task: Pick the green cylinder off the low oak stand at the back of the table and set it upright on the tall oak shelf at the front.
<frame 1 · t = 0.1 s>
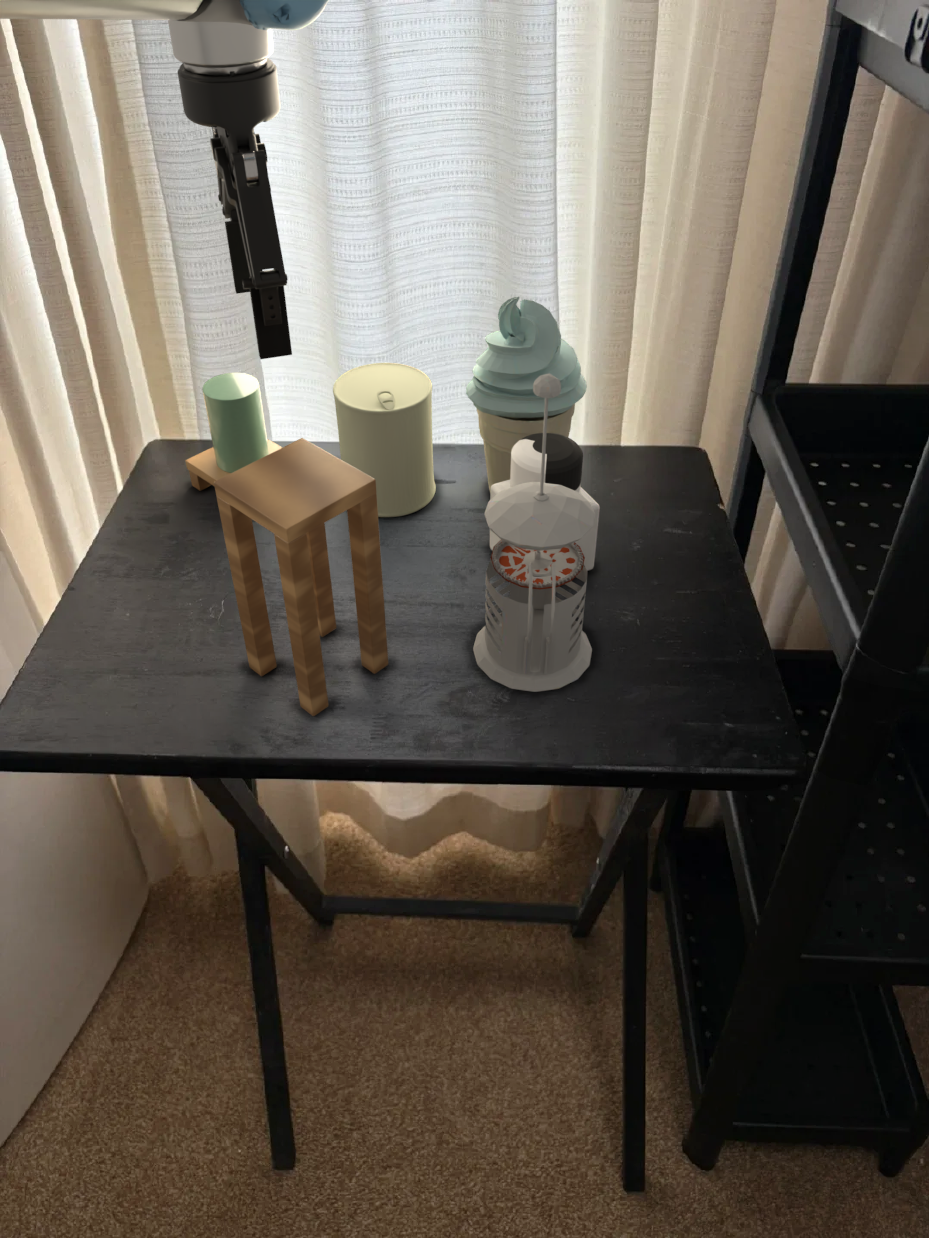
hand: (262, 321, 94), 17 cm above the table, tool pointing down, fingers open, 13 cm apart
front shelf: (319, 665, 85), on the table
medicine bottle: (540, 560, 95), on the table
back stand: (247, 484, 104), on the table
ice cream cone: (521, 489, 104), on the table
french press: (532, 658, 86), on the table
can: (389, 492, 103), on the table
green cylinder: (243, 459, 102), point 3 cm above the table, touching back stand
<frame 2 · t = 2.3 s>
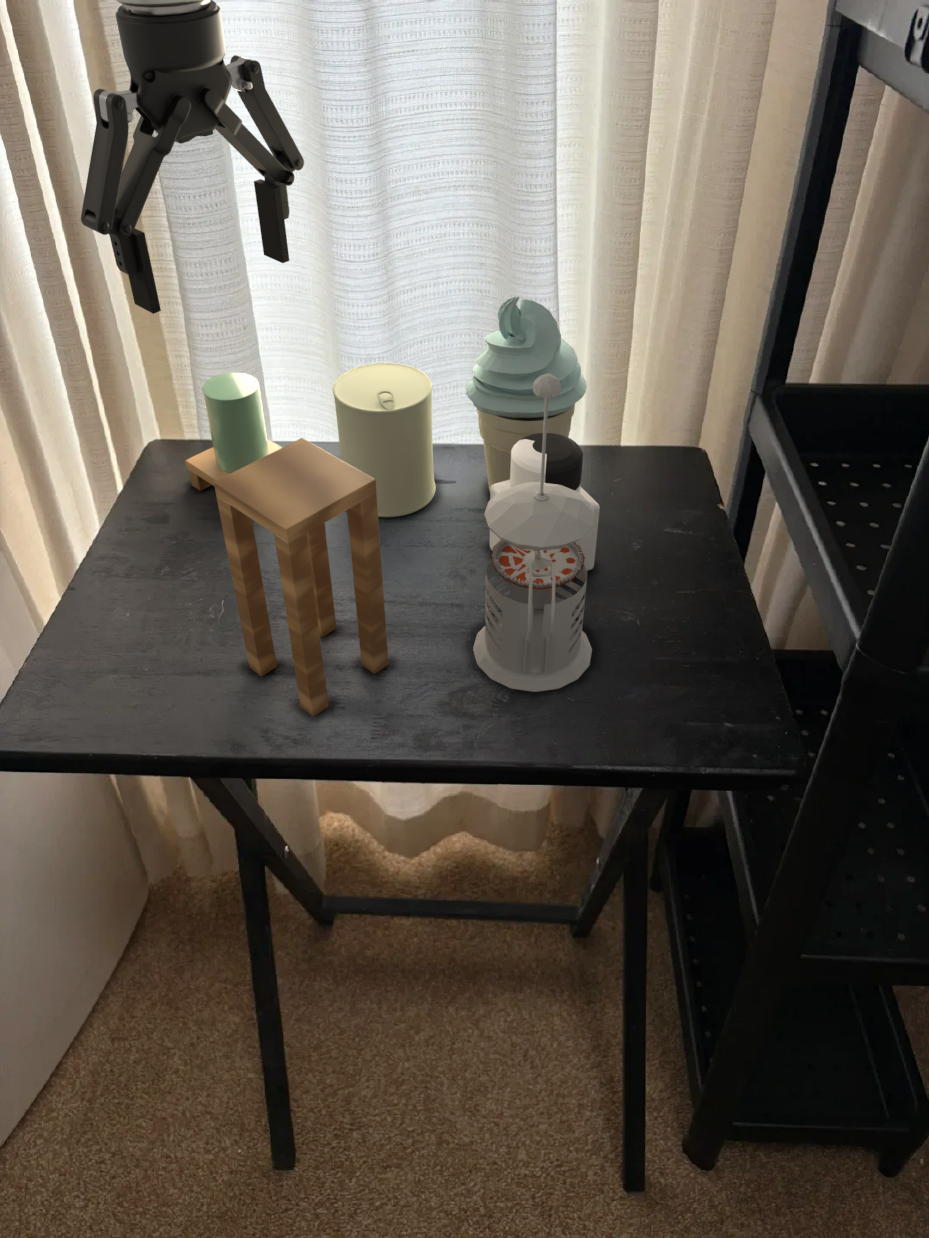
hand: (214, 282, 90), 21 cm above the table, tool pointing down, fingers open, 13 cm apart
nothing on the table moved.
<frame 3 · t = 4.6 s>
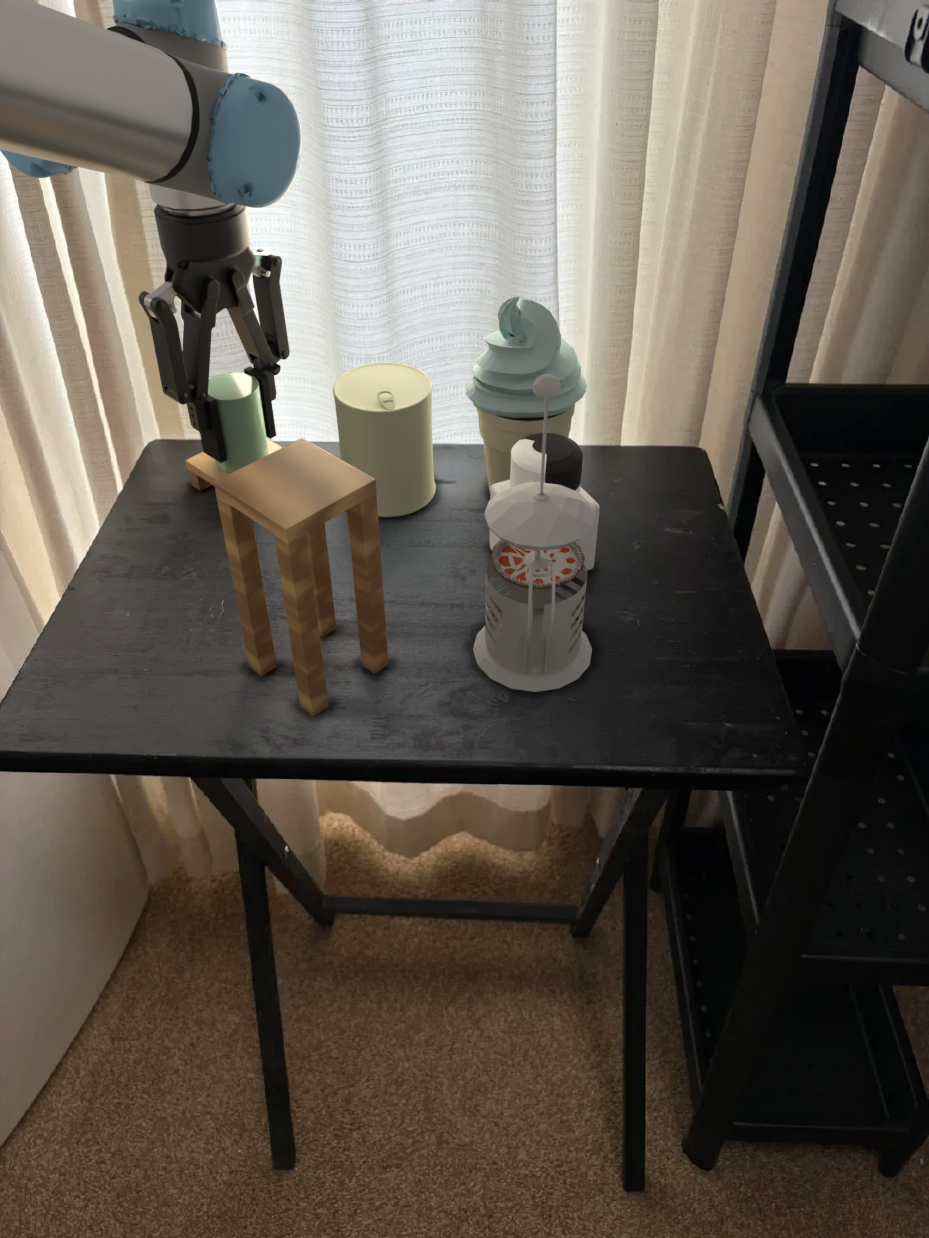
hand: (240, 443, 101), 5 cm above the table, tool pointing down, fingers closed on green cylinder, 5 cm apart
green cylinder: (243, 459, 102), point 3 cm above the table, touching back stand, gripper
everything else where it was.
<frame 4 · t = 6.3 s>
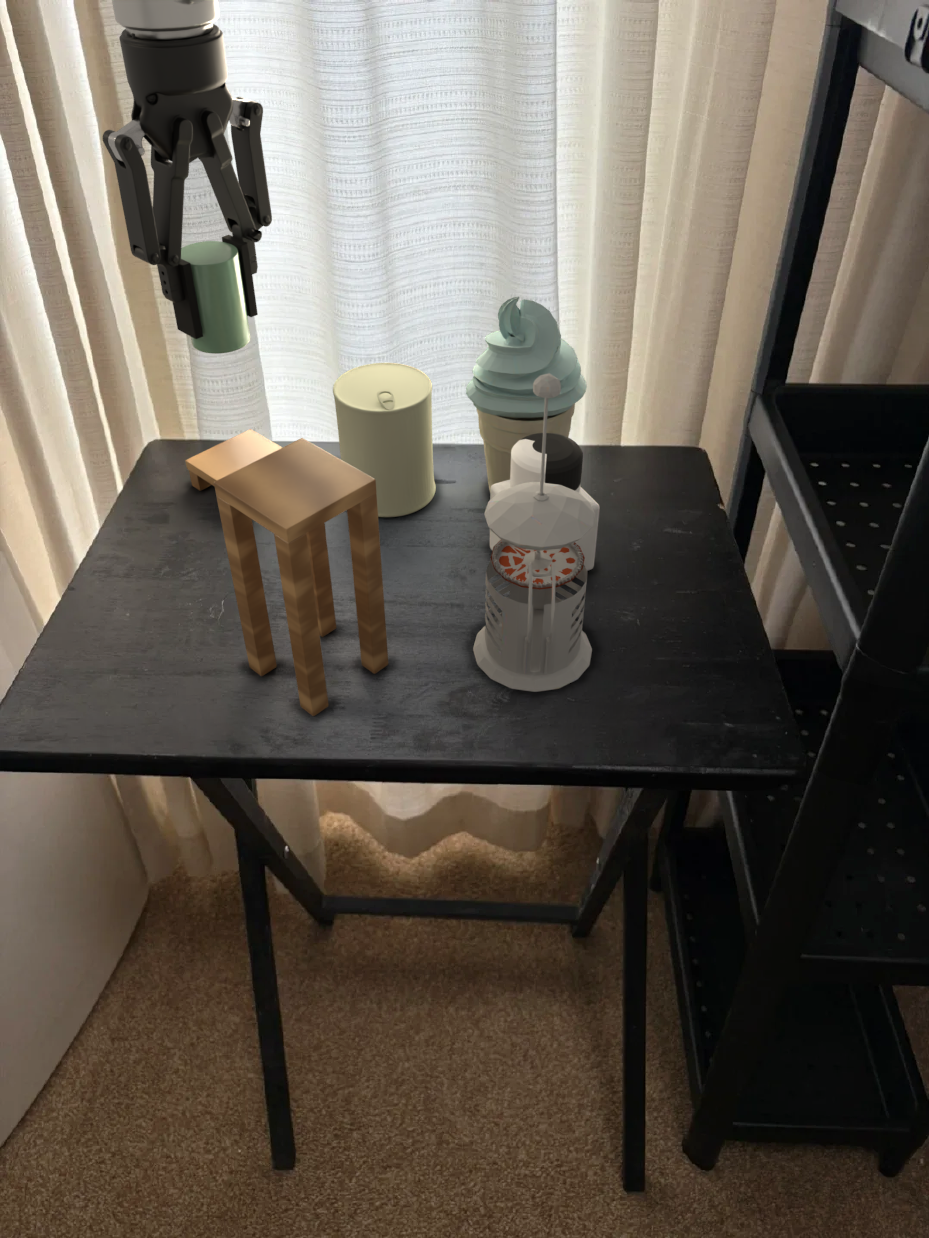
hand: (218, 321, 92), 17 cm above the table, tool pointing down, fingers closed on green cylinder, 5 cm apart
green cylinder: (221, 340, 94), point 16 cm above the table, touching gripper
everything else where it was.
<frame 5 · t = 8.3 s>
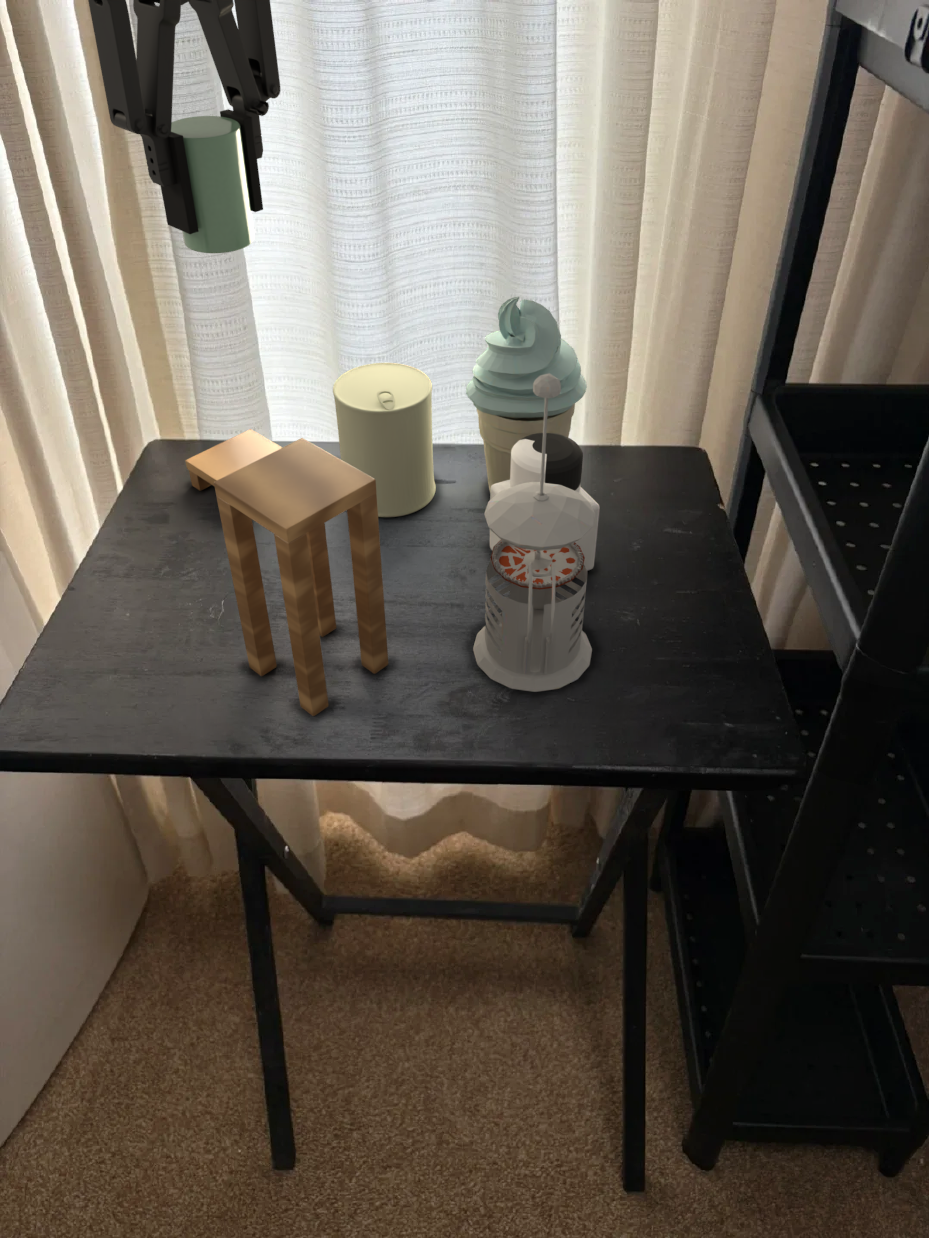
hand: (216, 216, 77), 30 cm above the table, tool pointing down, fingers closed on green cylinder, 5 cm apart
green cylinder: (219, 240, 78), point 28 cm above the table, touching gripper
everything else where it was.
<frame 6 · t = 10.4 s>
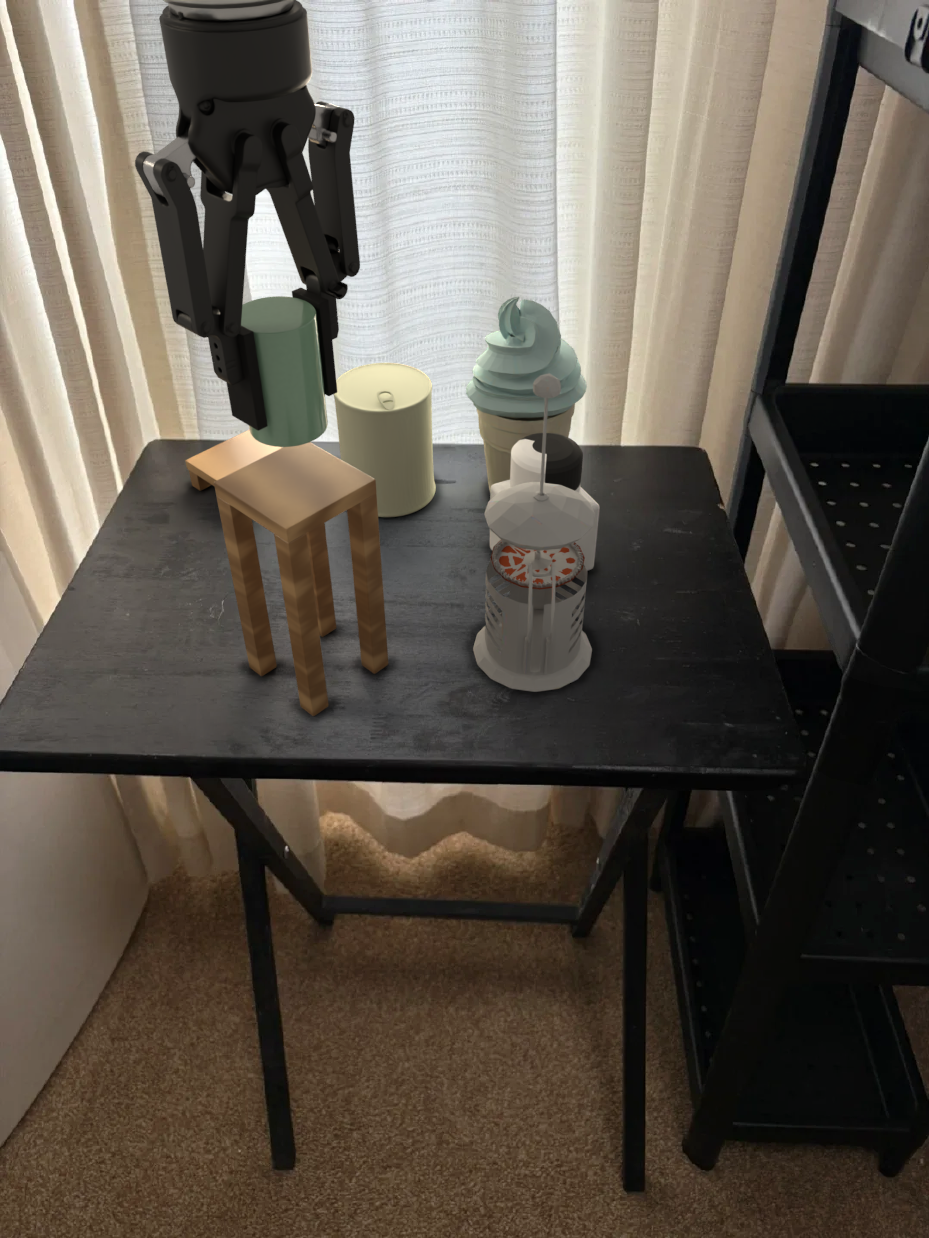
hand: (285, 403, 69), 24 cm above the table, tool pointing down, fingers closed on green cylinder, 5 cm apart
green cylinder: (288, 426, 70), point 22 cm above the table, touching gripper
everything else where it was.
when the fingers open (20 cm above the table, at t = 12.0 s): green cylinder stays where it is, resting on front shelf.
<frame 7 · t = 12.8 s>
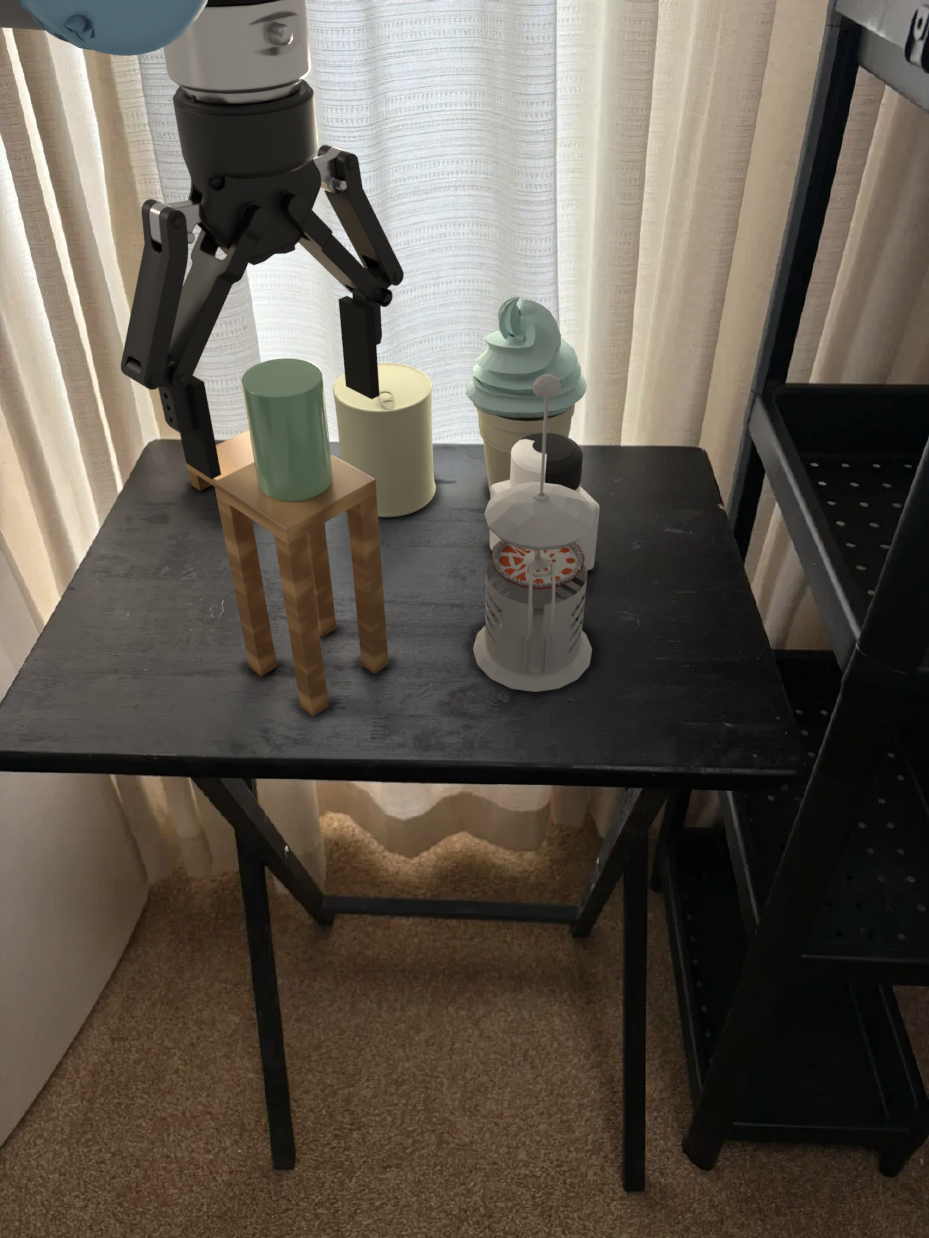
hand: (287, 428, 70), 22 cm above the table, tool pointing down, fingers open, 13 cm apart
green cylinder: (295, 480, 73), point 18 cm above the table, touching front shelf
everything else where it was.
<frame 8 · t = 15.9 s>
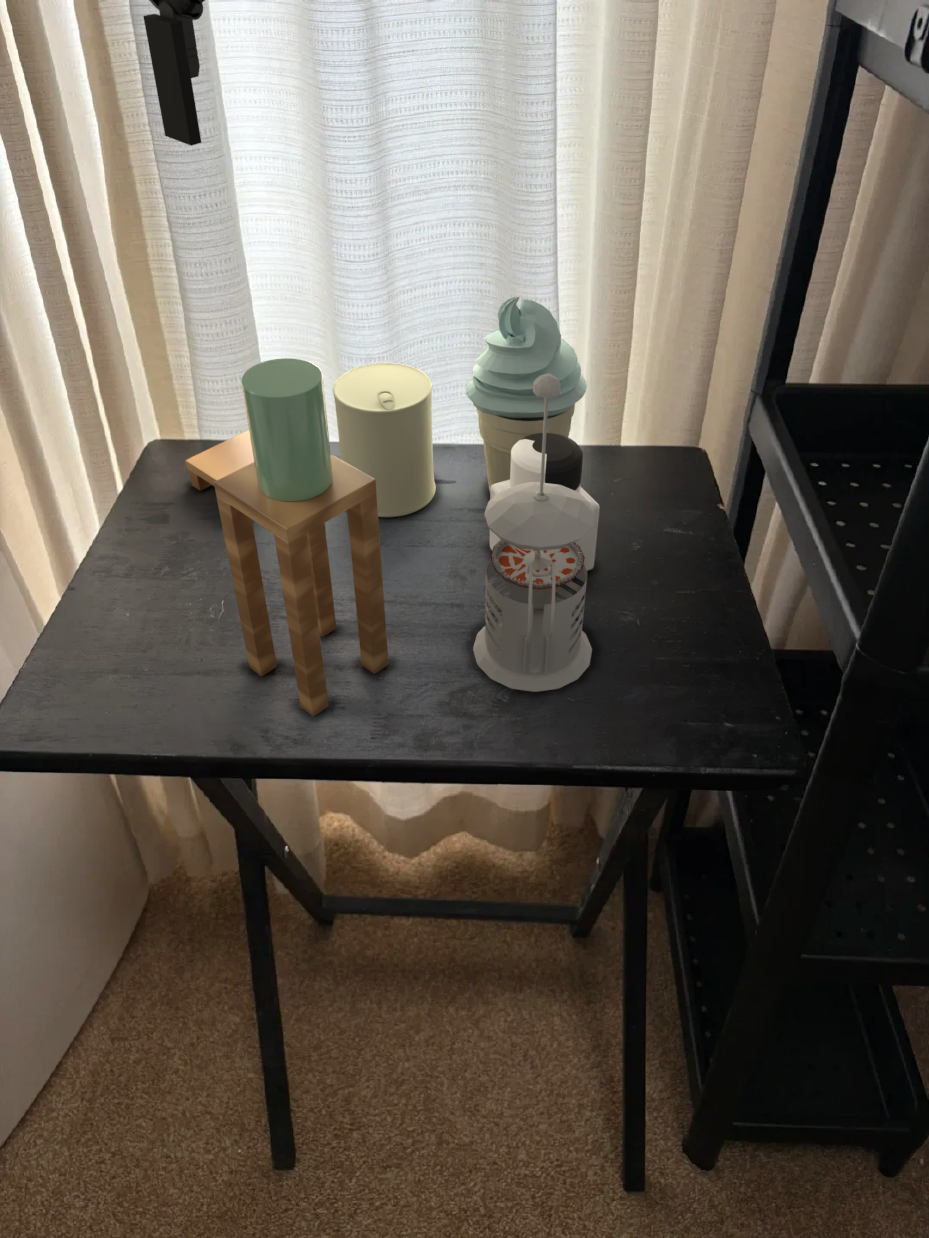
hand: (84, 168, 60), 39 cm above the table, tool pointing down, fingers open, 13 cm apart
nothing on the table moved.
at the end: green cylinder 0.0 cm off-centre on the front shelf, point 18.0 cm above the front shelf's base; green cylinder tilted 0°; the gripper is holding nothing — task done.
